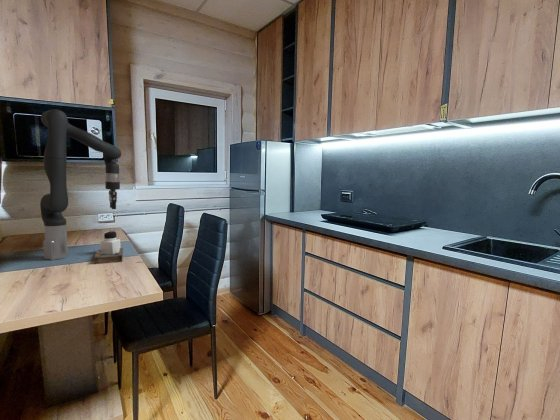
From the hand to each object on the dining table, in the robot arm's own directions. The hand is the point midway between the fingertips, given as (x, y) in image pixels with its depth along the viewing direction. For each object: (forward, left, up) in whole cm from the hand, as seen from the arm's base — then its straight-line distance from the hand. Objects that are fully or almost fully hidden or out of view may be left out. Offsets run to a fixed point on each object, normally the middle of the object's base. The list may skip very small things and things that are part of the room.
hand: (112, 208), depth 177 cm
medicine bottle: (-11, -9, -24) cm, 28 cm away
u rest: (-18, -17, -24) cm, 34 cm away
